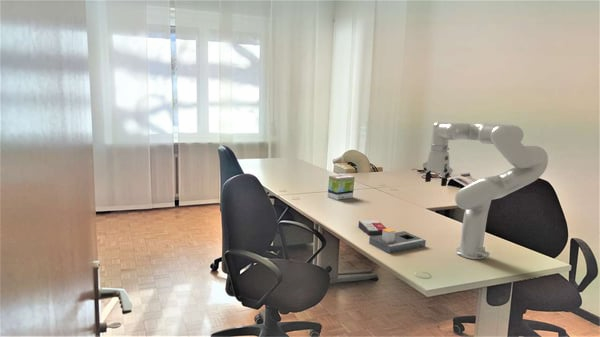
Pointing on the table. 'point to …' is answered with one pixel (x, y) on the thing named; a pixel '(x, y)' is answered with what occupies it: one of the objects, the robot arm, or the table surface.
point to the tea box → (341, 186)
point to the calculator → (371, 227)
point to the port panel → (398, 242)
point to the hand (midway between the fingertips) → (435, 183)
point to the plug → (388, 235)
